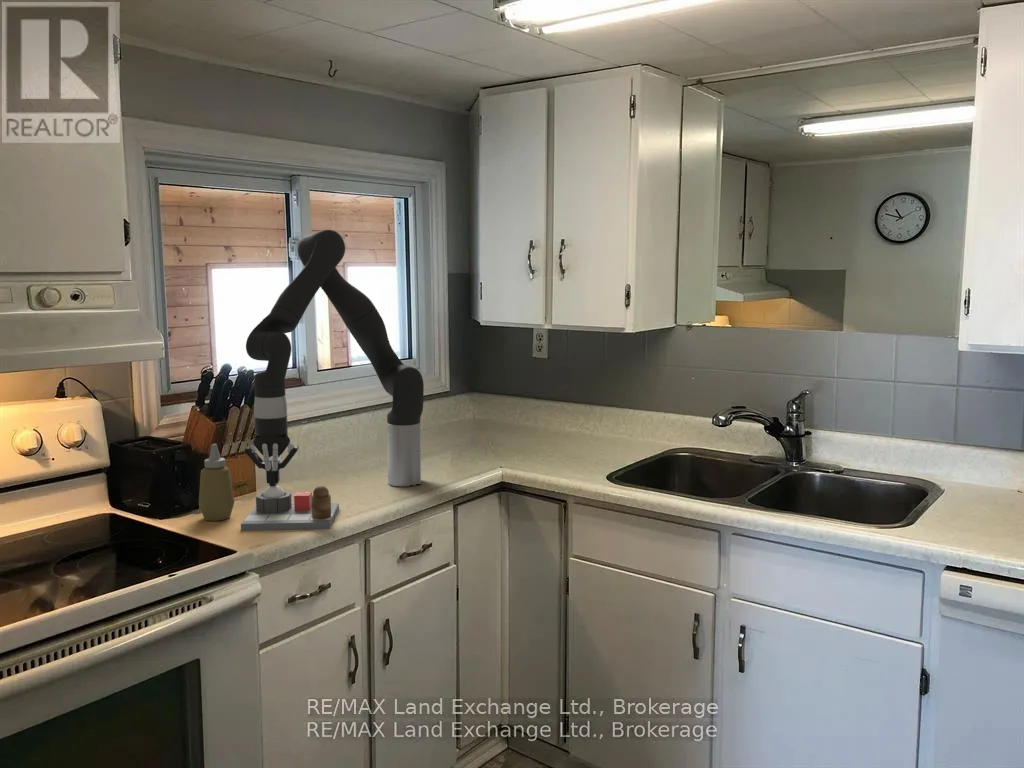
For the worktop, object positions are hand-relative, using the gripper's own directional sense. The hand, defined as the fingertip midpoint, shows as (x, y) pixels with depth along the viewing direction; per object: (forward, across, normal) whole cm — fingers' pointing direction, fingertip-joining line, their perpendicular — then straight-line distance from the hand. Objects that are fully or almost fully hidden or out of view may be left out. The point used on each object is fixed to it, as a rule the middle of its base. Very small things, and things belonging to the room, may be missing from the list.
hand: (273, 485), depth 196 cm
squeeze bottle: (+8, +13, +2) cm, 15 cm away
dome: (+5, 0, 0) cm, 5 cm away
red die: (+6, -7, 0) cm, 9 cm away
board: (+7, -5, +4) cm, 10 cm away
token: (+6, -12, +8) cm, 16 cm away
